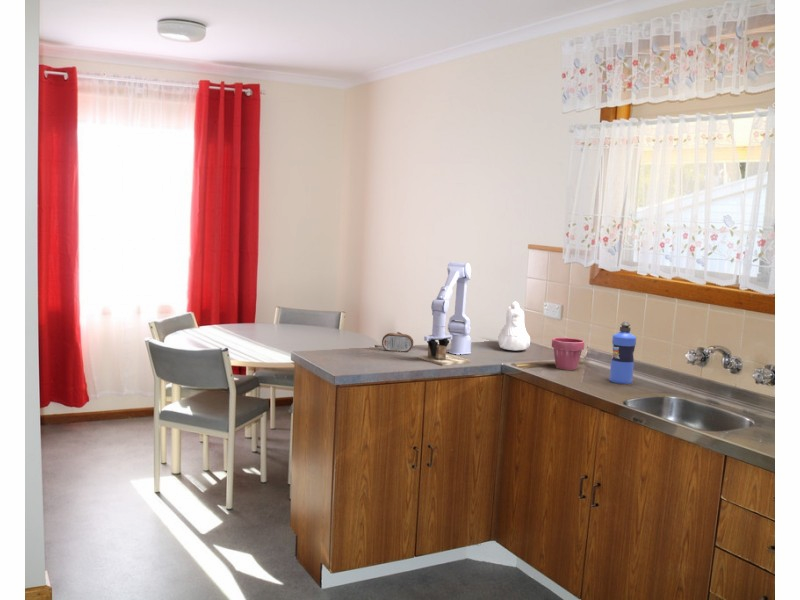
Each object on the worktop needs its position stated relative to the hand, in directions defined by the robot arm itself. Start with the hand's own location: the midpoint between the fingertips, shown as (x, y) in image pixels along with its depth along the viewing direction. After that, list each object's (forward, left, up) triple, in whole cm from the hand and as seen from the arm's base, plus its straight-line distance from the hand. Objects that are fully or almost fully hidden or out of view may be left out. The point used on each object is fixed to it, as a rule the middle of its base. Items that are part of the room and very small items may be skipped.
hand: (437, 355), depth 322 cm
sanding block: (0, -1, -1) cm, 1 cm away
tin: (+4, -26, -3) cm, 26 cm away
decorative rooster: (-56, -9, -2) cm, 57 cm away
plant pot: (-46, +35, -2) cm, 58 cm away
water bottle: (-47, +64, -2) cm, 79 cm away
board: (-4, 0, -2) cm, 5 cm away
